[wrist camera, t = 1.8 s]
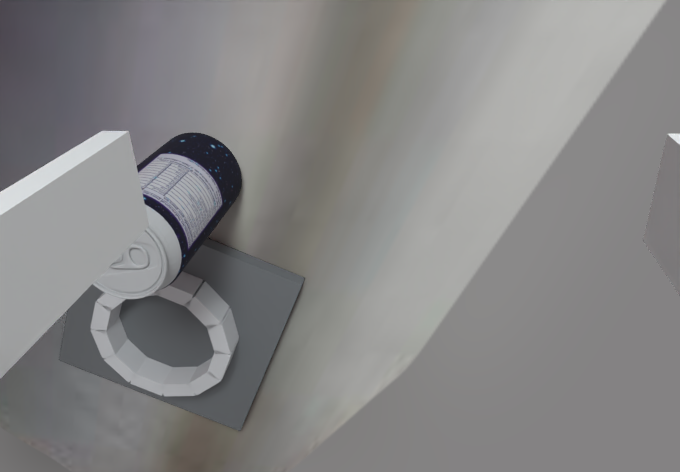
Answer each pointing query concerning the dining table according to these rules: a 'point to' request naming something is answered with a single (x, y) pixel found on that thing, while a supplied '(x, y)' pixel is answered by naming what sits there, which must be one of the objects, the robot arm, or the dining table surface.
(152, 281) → the beverage can
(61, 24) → the dining table surface
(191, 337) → the ring seat
